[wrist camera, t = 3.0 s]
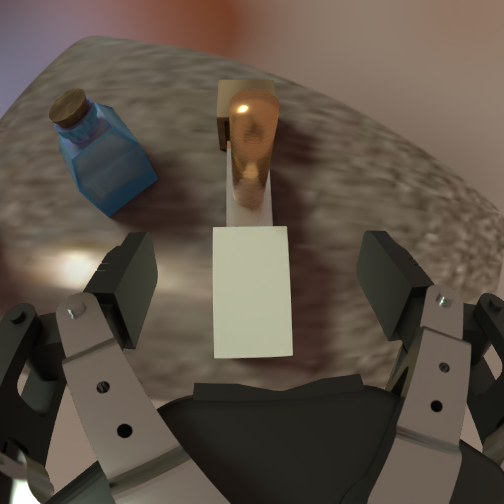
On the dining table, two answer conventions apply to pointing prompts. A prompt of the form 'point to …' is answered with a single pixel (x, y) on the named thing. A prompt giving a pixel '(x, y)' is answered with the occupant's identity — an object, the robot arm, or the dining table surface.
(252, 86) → the socket block
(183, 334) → the dining table surface
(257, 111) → the grey bar with post
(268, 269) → the pale white block
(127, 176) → the perfume bottle
